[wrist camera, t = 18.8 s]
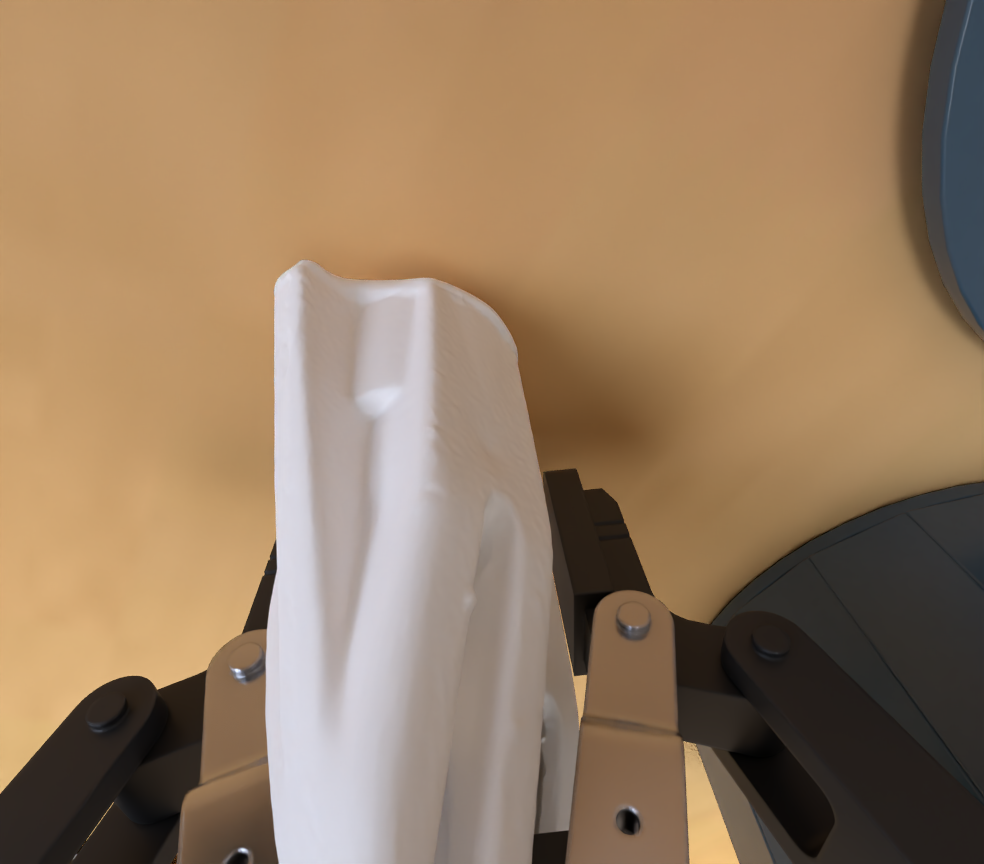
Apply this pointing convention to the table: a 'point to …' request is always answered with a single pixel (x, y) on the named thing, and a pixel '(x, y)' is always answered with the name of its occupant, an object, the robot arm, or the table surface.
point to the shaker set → (409, 585)
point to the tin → (885, 633)
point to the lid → (957, 157)
